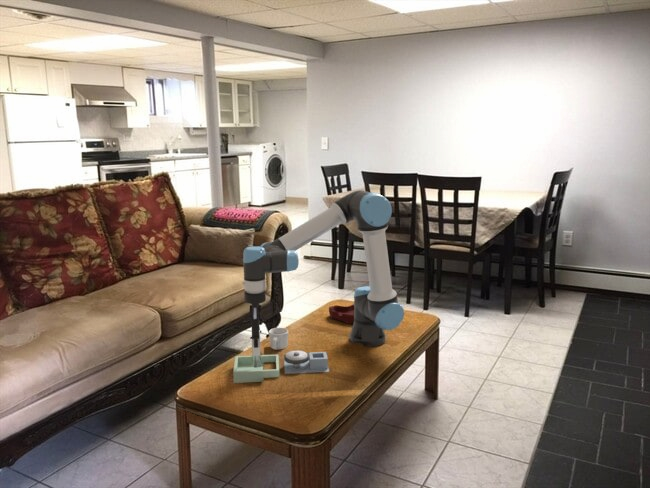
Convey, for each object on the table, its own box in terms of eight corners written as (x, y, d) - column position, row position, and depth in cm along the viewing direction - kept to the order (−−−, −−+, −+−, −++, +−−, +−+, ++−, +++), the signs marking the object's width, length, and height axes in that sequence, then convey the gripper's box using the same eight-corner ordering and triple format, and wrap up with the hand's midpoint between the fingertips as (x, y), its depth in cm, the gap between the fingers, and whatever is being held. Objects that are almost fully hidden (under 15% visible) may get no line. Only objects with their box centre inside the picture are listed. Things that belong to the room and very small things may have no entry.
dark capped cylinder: (260, 364, 197) (259, 325, 194) (260, 367, 194) (259, 328, 191) (252, 364, 197) (251, 325, 194) (252, 367, 194) (251, 328, 191)
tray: (278, 364, 204) (278, 354, 203) (279, 380, 190) (279, 370, 190) (235, 366, 202) (235, 356, 202) (233, 382, 189) (233, 372, 188)
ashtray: (334, 327, 244) (334, 316, 243) (327, 315, 260) (327, 305, 259) (372, 324, 248) (372, 314, 247) (362, 313, 264) (363, 303, 263)
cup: (283, 357, 211) (283, 337, 209) (264, 355, 212) (263, 336, 211) (291, 346, 221) (290, 328, 219) (272, 345, 223) (272, 326, 221)
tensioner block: (326, 362, 205) (326, 346, 204) (329, 375, 195) (329, 358, 193) (283, 364, 204) (283, 348, 202) (284, 377, 193) (284, 359, 192)
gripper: (245, 284, 198) (246, 345, 202) (243, 297, 182) (245, 362, 187) (265, 284, 198) (266, 344, 203) (265, 296, 183) (266, 361, 187)
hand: (256, 352), depth 195 cm, fingers closed on dark capped cylinder, 3 cm apart
